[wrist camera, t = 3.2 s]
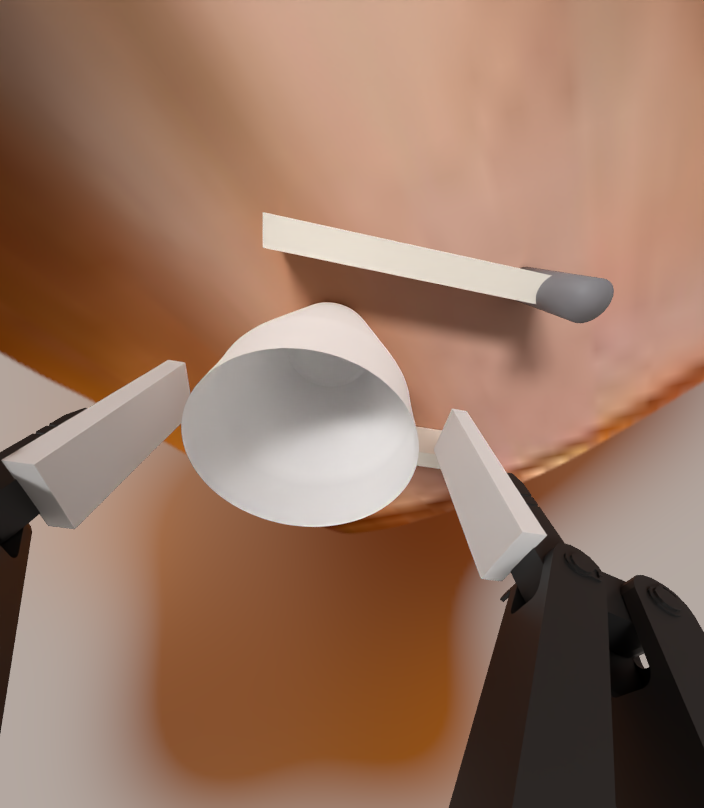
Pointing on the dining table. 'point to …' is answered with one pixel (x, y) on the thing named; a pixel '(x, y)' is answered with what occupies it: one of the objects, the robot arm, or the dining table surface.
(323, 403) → the cup
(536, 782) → the robot arm
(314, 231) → the pair of white bars
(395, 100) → the dining table surface
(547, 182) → the dining table surface
